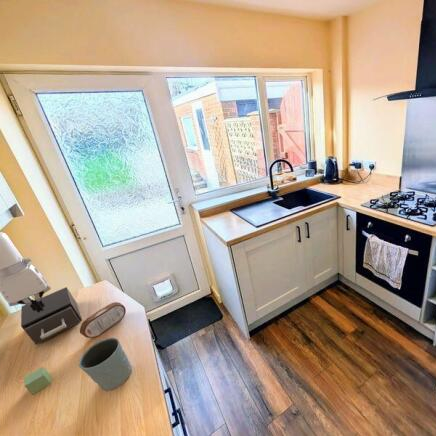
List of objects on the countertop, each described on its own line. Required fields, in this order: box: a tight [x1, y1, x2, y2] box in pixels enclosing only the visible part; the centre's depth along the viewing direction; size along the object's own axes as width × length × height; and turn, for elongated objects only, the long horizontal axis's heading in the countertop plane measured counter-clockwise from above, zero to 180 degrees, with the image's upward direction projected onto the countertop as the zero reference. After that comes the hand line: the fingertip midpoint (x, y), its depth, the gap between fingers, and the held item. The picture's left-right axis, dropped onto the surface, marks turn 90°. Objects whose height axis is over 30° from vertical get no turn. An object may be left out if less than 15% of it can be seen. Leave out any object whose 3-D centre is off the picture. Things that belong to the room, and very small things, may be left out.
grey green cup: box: [78, 337, 133, 392], centre depth 75 cm, size 10×10×12 cm
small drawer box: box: [20, 286, 82, 343], centre depth 101 cm, size 16×15×10 cm
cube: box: [24, 366, 52, 395], centre depth 77 cm, size 4×4×4 cm
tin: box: [79, 301, 127, 339], centre depth 95 cm, size 15×3×8 cm, turn 149°
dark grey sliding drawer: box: [24, 306, 81, 346], centre depth 97 cm, size 20×13×8 cm, turn 46°
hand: (40, 309), depth 88 cm, fingers closed
